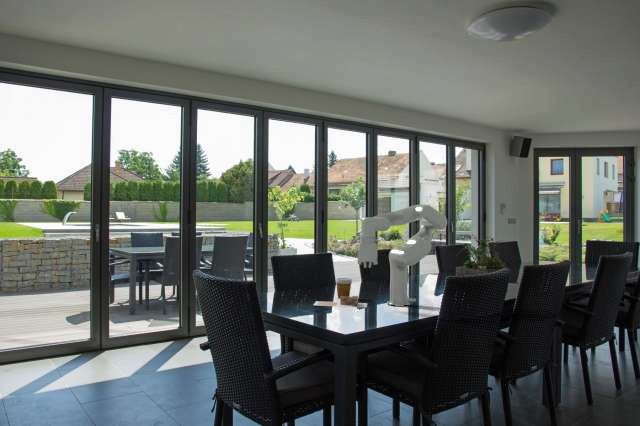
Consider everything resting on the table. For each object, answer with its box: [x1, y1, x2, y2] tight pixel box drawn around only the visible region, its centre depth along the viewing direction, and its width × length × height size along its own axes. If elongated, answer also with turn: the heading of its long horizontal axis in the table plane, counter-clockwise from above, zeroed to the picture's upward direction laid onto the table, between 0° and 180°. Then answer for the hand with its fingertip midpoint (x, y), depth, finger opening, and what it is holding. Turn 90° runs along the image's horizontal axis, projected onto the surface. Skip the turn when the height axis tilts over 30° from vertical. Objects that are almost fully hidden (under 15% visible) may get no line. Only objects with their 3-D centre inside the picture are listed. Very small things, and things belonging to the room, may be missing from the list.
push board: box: [313, 300, 368, 308], centre depth 260 cm, size 28×12×1 cm, turn 83°
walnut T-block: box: [339, 295, 359, 308], centre depth 259 cm, size 9×9×4 cm
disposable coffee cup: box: [335, 277, 353, 300], centre depth 279 cm, size 10×10×12 cm
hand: (367, 275), depth 258 cm, fingers closed
